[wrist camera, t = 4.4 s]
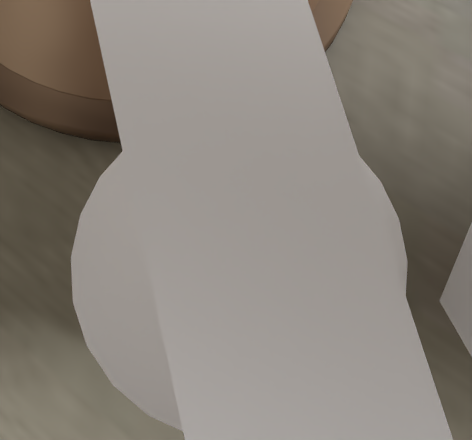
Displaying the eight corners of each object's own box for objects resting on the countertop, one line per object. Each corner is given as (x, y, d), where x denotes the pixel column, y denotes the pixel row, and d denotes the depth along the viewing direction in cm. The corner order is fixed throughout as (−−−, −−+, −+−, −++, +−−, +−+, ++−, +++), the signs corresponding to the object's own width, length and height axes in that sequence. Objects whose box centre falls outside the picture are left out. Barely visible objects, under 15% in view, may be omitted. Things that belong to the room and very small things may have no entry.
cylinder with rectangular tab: (104, 197, 18) (-137, -19, 6) (310, 148, 18) (460, -134, 7) (150, 421, 16) (-62, 740, 4) (374, 358, 17) (733, 483, 5)
